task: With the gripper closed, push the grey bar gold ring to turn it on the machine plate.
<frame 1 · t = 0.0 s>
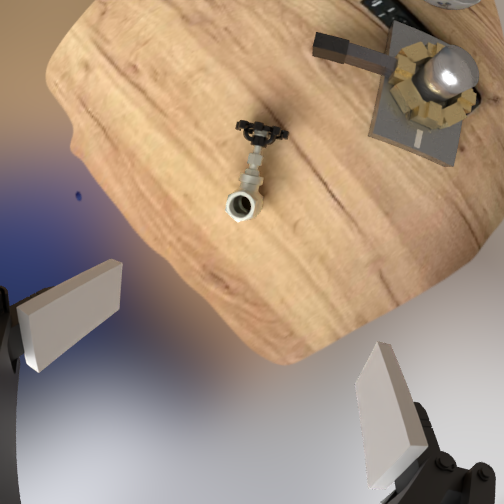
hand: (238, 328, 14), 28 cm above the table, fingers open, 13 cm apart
valve: (257, 173, 40), on the table
machine plate: (419, 93, 32), on the table
grey bar gold ring: (397, 68, 28), point 5 cm above the table, hinge at 0.0°
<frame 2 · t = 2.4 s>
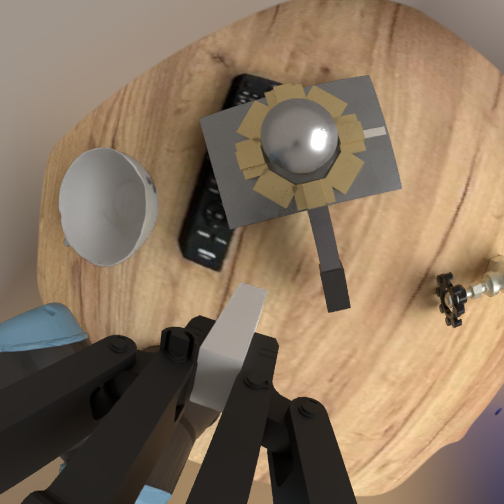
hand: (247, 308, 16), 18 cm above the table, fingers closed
valve: (473, 276, 30), on the table
machine plate: (301, 151, 31), on the table
teacup: (128, 205, 36), on the table
grey bar gold ring: (315, 199, 27), point 5 cm above the table, hinge at 0.0°
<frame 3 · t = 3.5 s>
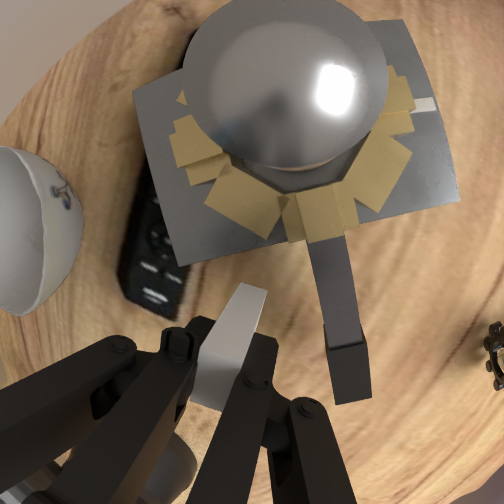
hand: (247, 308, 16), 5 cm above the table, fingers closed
machine plate: (296, 136, 18), on the table
teacup: (56, 223, 23), on the table
grey bar gold ring: (320, 221, 14), point 5 cm above the table, hinge at 0.0°
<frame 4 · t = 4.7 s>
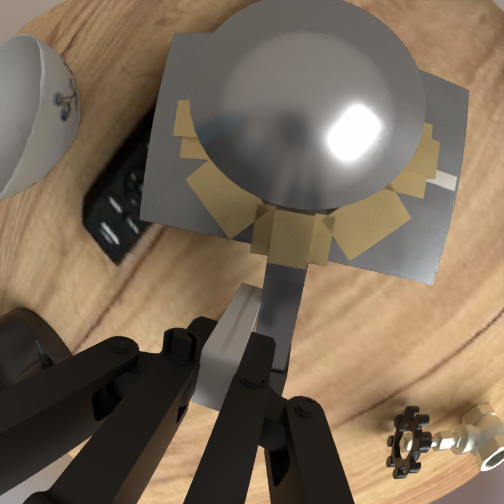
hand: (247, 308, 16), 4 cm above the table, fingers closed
valve: (446, 415, 21), on the table
machine plate: (307, 147, 18), on the table
teacup: (52, 125, 21), on the table
grey bar gold ring: (291, 243, 14), point 5 cm above the table, hinge at 2.4°, touching gripper
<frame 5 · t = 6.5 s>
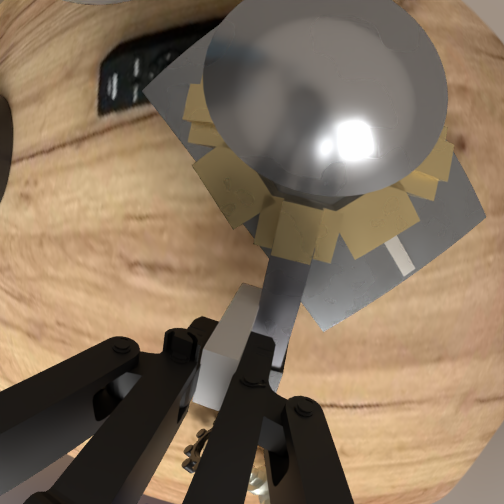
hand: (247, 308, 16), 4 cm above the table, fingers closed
valve: (261, 450, 25), on the table
machine plate: (318, 143, 17), on the table
grey bar gold ring: (296, 237, 14), point 5 cm above the table, hinge at 40.8°, touching gripper
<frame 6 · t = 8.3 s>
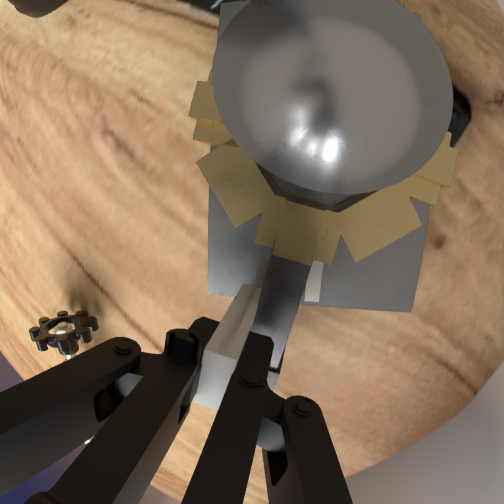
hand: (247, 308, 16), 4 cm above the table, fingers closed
valve: (99, 363, 26), on the table
machine plate: (322, 145, 17), on the table
grey bar gold ring: (297, 238, 14), point 5 cm above the table, hinge at 78.7°, touching gripper, machine plate
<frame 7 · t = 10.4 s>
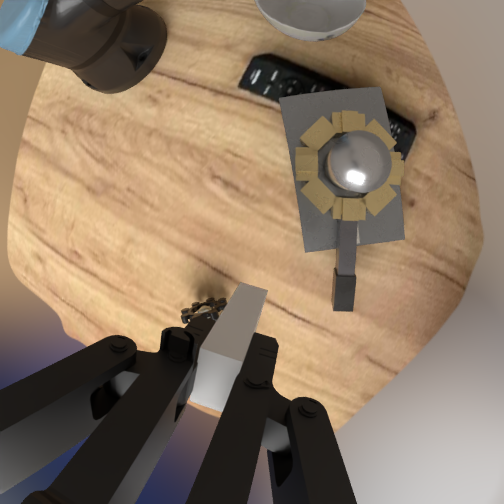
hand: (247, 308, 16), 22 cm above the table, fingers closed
valve: (223, 334, 43), on the table
machine plate: (342, 167, 34), on the table
teacup: (306, 15, 30), on the table
grey bar gold ring: (348, 213, 30), point 5 cm above the table, hinge at 80.8°, touching machine plate
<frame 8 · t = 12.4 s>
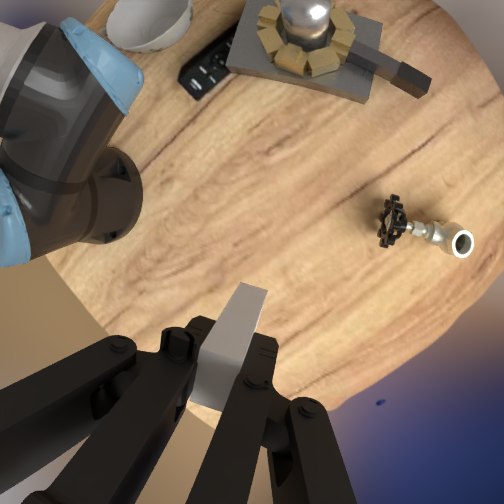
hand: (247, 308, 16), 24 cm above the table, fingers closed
valve: (418, 226, 36), on the table
machine plate: (306, 47, 33), on the table
teacup: (161, 32, 35), on the table
grey bar gold ring: (346, 46, 27), point 5 cm above the table, hinge at 80.8°
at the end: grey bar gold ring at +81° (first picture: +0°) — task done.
